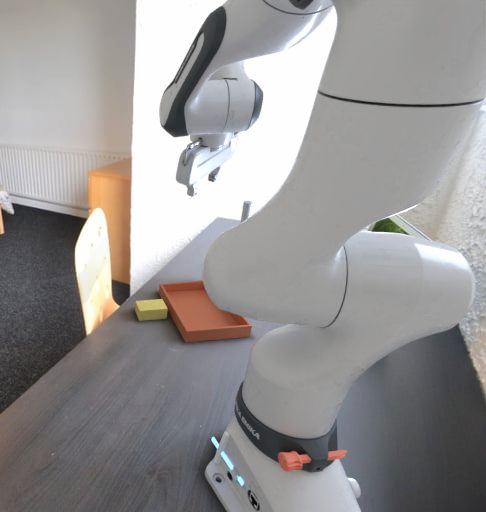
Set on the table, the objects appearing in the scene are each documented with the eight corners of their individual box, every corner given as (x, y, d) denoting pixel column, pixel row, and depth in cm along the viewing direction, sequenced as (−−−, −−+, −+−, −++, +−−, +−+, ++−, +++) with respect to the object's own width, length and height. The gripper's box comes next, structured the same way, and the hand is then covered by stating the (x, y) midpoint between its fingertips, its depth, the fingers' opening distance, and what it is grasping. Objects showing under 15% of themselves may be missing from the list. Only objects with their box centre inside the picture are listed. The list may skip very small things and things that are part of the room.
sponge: (161, 308, 95) (162, 298, 94) (166, 318, 91) (167, 308, 90) (135, 310, 95) (135, 300, 93) (139, 321, 90) (139, 310, 89)
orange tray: (249, 336, 84) (252, 325, 83) (185, 342, 83) (186, 331, 81) (211, 289, 103) (213, 279, 102) (158, 293, 102) (159, 283, 100)
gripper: (198, 150, 74) (189, 208, 83) (246, 122, 85) (234, 176, 94) (172, 143, 78) (166, 200, 87) (221, 116, 89) (212, 169, 97)
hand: (202, 187), depth 90 cm, fingers open, 8 cm apart
